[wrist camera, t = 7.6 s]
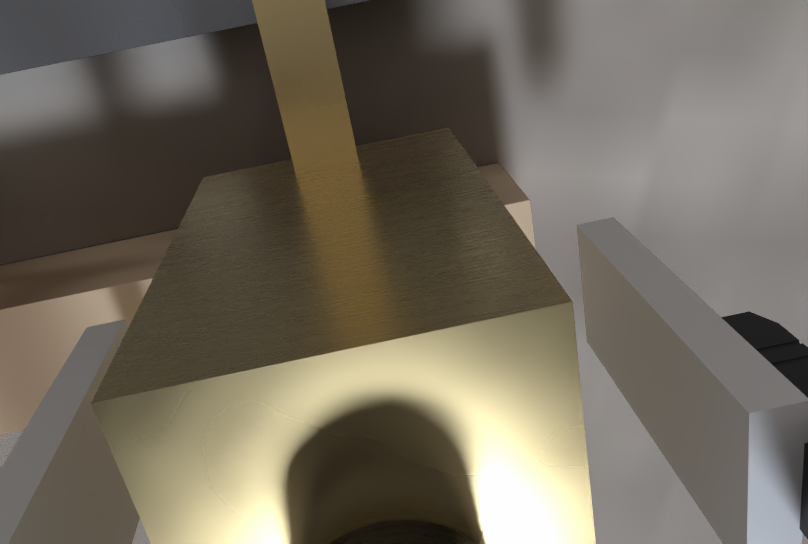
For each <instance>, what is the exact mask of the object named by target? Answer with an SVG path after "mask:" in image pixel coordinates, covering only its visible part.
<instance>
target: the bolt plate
mask: <svg viewBox="0 0 808 544" xmlns="http://www.w3.org/2000/svg"><path fill="white" fill-rule="evenodd" d="M365 1H369V0H325V2H326V7H327V9H330V8H335V7H340V6H345V5H350V4H355V3H360V2H365ZM255 23H258V22H257V18H256V14H255V10H254V6H253V2H252V0H0V75H1V74H6V73H11V72H16V71H21V70H26V69H31V68H36V67H41V66H46V65H51V64H55V63H60V62H65V61H70V60H75V59H80V58H85V57H90V56H95V55H100V54H105V53H110V52H115V51H120V50H125V49H130V48H135V47H140V46H145V45H150V44H155V43H160V42H165V41H170V40H175V39H180V38H185V37H190V36H195V35H200V34H205V33H210V32H215V31H220V30H225V29H230V28H235V27H240V26H245V25H250V24H255Z"/></svg>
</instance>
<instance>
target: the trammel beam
mask: <svg viewBox="0 0 808 544" xmlns="http://www.w3.org/2000/svg"><path fill="white" fill-rule="evenodd" d="M478 169H479V170H480V172H481V173H482V174H483V176H484V177H485V179H486V180H487V182H488V183H489V184H490V186H491V187H492V189H493V190H494V191H495V193H496V194H497V196H498V197H499V199H500V200H501V201H502V203H503V204H504V206H505V207H506V208H507V210H508V211H509V213H510V214H511V215H512V217H513V218H514V220H515V221H516V223H517V224H518V225H519V227H520V228H521V230H522V231H523V232H524V234H525V235H526V237H527V238H528V239H529V241H530V242H531V244H532V245H533V247H534V248H535V242H534V233H533V225H532V216H531V207H530V200H529V199H528V197H527V196H526V195H525V194H524V192H523V191H522V190H521V189H520V188H519V186H518V185H517V184H516V183H515V182H514V180H513V179H512V178H511V177H510V175H509V174H508V173H507V172H506V171H505V169H504V168H503V167H502V166H501V165H500V163H495V164H491V165H486V166H481V167H478ZM176 231H177V229H175V230H170V231H166V232H161V233H156V234H151V235H146V236H141V237H137V238H132V239H127V240H122V241H117V242H112V243H107V244H103V245H98V246H93V247H88V248H83V249H78V250H73V251H69V252H64V253H59V254H54V255H49V256H44V257H39V258H35V259H30V260H25V261H20V262H15V263H10V264H6V265H1V266H0V435H3V434H7V433H12V432H17V431H22V430H25V428H26V426H27V425H28V423H29V421H30V420H31V418H32V416H33V415H34V413H35V411H36V410H37V408H38V407H39V405H40V403H41V402H42V400H43V398H44V397H45V395H46V393H47V392H48V390H49V388H50V387H51V385H52V383H53V382H54V380H55V379H56V377H57V375H58V374H59V372H60V370H61V369H62V367H63V365H64V364H65V362H66V360H67V359H68V357H69V356H70V354H71V352H72V351H73V349H74V347H75V346H76V344H77V342H78V341H79V339H80V337H81V336H82V334H83V332H84V331H85V329H86V328H87V327H90V326H95V325H100V324H105V323H109V322H114V321H119V320H124V319H125V322H126V325H127V327H128V328H129V325H130V323H131V321H132V319H133V317H134V315H135V313H136V311H137V309H138V307H139V305H140V303H141V301H142V299H143V297H144V295H145V293H146V291H147V289H148V287H149V285H150V283H151V281H152V279H153V277H154V275H155V273H156V271H157V269H158V267H159V265H160V263H161V261H162V259H163V257H164V255H165V253H166V251H167V249H168V247H169V245H170V243H171V241H172V239H173V237H174V235H175V233H176Z"/></svg>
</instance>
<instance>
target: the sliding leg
mask: <svg viewBox="0 0 808 544" xmlns="http://www.w3.org/2000/svg"><path fill="white" fill-rule="evenodd" d="M252 2H253V6H254V10H255V14H256V18H257V22H258V26H259V30H260V34H261V38H262V42H263V46H264V50H265V54H266V58H267V62H268V66H269V70H270V74H271V78H272V82H273V86H274V90H275V94H276V98H277V102H278V106H279V110H280V114H281V118H282V122H283V126H284V130H285V134H286V138H287V142H288V146H289V150H290V154H291V158H292V159H290V160H285V161H280V162H275V163H270V164H266V165H261V166H256V167H251V168H246V169H241V170H236V171H231V172H227V173H222V174H217V175H212V176H207V177H203V179H202V181H201V183H200V185H199V187H198V189H197V191H196V193H195V195H194V197H193V199H192V201H191V203H190V205H189V207H188V209H187V211H186V213H185V215H184V217H183V219H182V221H181V223H180V225H179V227H178V229H177V231H176V233H175V235H174V237H173V239H172V241H171V243H170V245H169V247H168V249H167V251H166V253H165V255H164V257H163V259H162V261H161V263H160V265H159V267H158V269H157V271H156V273H155V275H154V277H153V279H152V281H151V283H150V285H149V287H148V289H147V291H146V293H145V295H144V297H143V299H142V301H141V303H140V305H139V307H138V309H137V311H136V313H135V315H134V317H133V319H132V321H131V323H130V325H129V328H128V330H127V332H126V334H125V336H124V338H123V340H122V342H121V344H120V346H119V348H118V350H117V352H116V354H115V356H114V358H113V360H112V362H111V364H110V366H109V368H108V370H107V372H106V374H105V376H104V378H103V380H102V382H101V384H100V386H99V388H98V390H97V392H96V394H95V396H94V398H93V400H92V402H91V405H92V407H93V410H94V412H95V414H96V417H97V419H98V421H99V424H100V426H101V428H102V431H103V433H104V435H105V438H106V440H107V442H108V445H109V447H110V449H111V452H112V454H113V456H114V459H115V461H116V463H117V466H118V468H119V470H120V473H121V475H122V477H123V480H124V482H125V484H126V487H127V489H128V491H129V494H130V496H131V498H132V501H133V503H134V505H135V508H136V510H137V512H138V514H139V517H140V519H141V521H142V524H143V526H144V528H145V531H146V533H147V535H148V538H149V540H150V542H151V544H596V542H595V532H594V521H593V511H592V500H591V490H590V479H589V469H588V458H587V448H586V437H585V427H584V416H583V406H582V395H581V385H580V374H579V363H578V353H577V342H576V332H575V321H574V311H573V302H572V300H571V299H570V297H569V296H568V295H567V293H566V292H565V290H564V289H563V287H562V286H561V285H560V283H559V282H558V280H557V279H556V278H555V276H554V275H553V273H552V272H551V271H550V269H549V268H548V266H547V265H546V263H545V262H544V261H543V259H542V258H541V256H540V255H539V254H538V252H537V251H536V249H535V248H534V247H533V245H532V244H531V242H530V241H529V239H528V238H527V237H526V235H525V234H524V232H523V231H522V230H521V228H520V227H519V225H518V224H517V223H516V221H515V220H514V218H513V217H512V215H511V214H510V213H509V211H508V210H507V208H506V207H505V206H504V204H503V203H502V201H501V200H500V199H499V197H498V196H497V194H496V193H495V191H494V190H493V189H492V187H491V186H490V184H489V183H488V182H487V180H486V179H485V177H484V176H483V174H482V173H481V172H480V170H479V169H478V167H477V166H476V165H475V163H474V162H473V160H472V159H471V158H470V156H469V155H468V153H467V152H466V150H465V149H464V148H463V146H462V145H461V143H460V142H459V141H458V139H457V138H456V136H455V135H454V134H453V132H452V131H451V129H450V128H449V127H446V128H441V129H436V130H432V131H427V132H422V133H417V134H412V135H407V136H402V137H397V138H393V139H388V140H383V141H378V142H373V143H368V144H363V145H358V146H356V144H355V139H354V134H353V130H352V125H351V120H350V116H349V111H348V106H347V101H346V97H345V92H344V87H343V83H342V78H341V73H340V68H339V64H338V59H337V54H336V50H335V45H334V40H333V35H332V31H331V26H330V21H329V17H328V12H327V7H326V2H325V0H252Z"/></svg>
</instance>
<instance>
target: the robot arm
mask: <svg viewBox="0 0 808 544" xmlns="http://www.w3.org/2000/svg"><path fill="white" fill-rule="evenodd" d="M577 233H578V245H579V256H580V267H581V279H582V290H583V301H584V313H585V324H586V335H587V342H588V343H589V345H590V346H591V348H592V349H593V351H594V352H595V354H596V355H597V357H598V358H599V360H600V361H601V363H602V364H603V366H604V367H605V369H606V370H607V372H608V373H609V375H610V376H611V378H612V379H613V381H614V382H615V384H616V385H617V387H618V388H619V390H620V391H621V392H622V394H623V395H624V397H625V398H626V400H627V401H628V403H629V404H630V406H631V407H632V409H633V410H634V412H635V413H636V415H637V416H638V418H639V419H640V421H641V422H642V424H643V425H644V427H645V428H646V430H647V431H648V433H649V434H650V436H651V437H652V438H653V440H654V441H655V443H656V444H657V446H658V447H659V449H660V450H661V452H662V453H663V455H664V456H665V458H666V459H667V461H668V462H669V464H670V465H671V467H672V468H673V470H674V471H675V473H676V474H677V476H678V477H679V479H680V480H681V482H682V483H683V484H684V486H685V487H686V489H687V490H688V492H689V493H690V495H691V496H692V498H693V499H694V501H695V502H696V504H697V505H698V507H699V508H700V510H701V511H702V513H703V514H704V516H705V517H706V519H707V520H708V522H709V523H710V525H711V526H712V528H713V529H714V530H715V532H716V533H717V535H718V536H719V538H720V539H721V541H722V542H723V544H802V533H803V534H804V535H805V536H806V537H807V539H808V347H807V346H805V345H804V344H803V343H802V344H800V343H799V340H798V339H797V338H796V337H794V336H793V335H792V334H791V333H790V332H788V331H787V330H786V329H785V328H784V327H782V326H781V325H780V324H779V323H776V322H774V321H771V320H769V319H766V318H764V317H761V316H759V315H756V314H754V313H751V312H745V313H740V314H736V315H731V316H726V317H720V316H719V315H718V314H717V313H716V312H715V311H714V310H713V309H712V308H711V307H709V306H708V305H707V304H706V303H705V302H704V301H703V300H702V299H701V298H700V297H699V296H698V295H697V294H695V293H694V292H693V291H692V290H691V289H690V288H689V287H688V286H687V285H686V284H685V283H684V282H683V281H681V280H680V279H679V278H678V277H677V276H676V275H675V274H674V273H673V272H672V271H671V270H670V269H669V268H667V267H666V266H665V265H664V264H663V263H662V262H661V261H660V260H659V259H658V258H657V257H656V256H655V255H653V254H652V253H651V252H650V251H649V250H648V249H647V248H646V247H645V246H644V245H643V244H642V243H641V242H639V241H638V240H637V239H636V238H635V237H634V236H633V235H632V234H631V233H630V232H629V231H628V230H627V229H625V228H624V227H623V226H622V225H621V224H620V223H619V222H618V221H617V220H616V219H615V218H614V217H613V218H608V219H604V220H599V221H594V222H589V223H584V224H580V225H577ZM127 330H128V327H127V325H126V322H125V319H124V320H119V321H114V322H109V323H105V324H100V325H95V326H90V327H87V328H86V329H85V331H84V332H83V334H82V336H81V337H80V339H79V341H78V342H77V344H76V346H75V347H74V349H73V351H72V352H71V354H70V356H69V357H68V359H67V360H66V362H65V364H64V365H63V367H62V369H61V370H60V372H59V374H58V375H57V377H56V379H55V380H54V382H53V383H52V385H51V387H50V388H49V390H48V392H47V393H46V395H45V397H44V398H43V400H42V402H41V403H40V405H39V407H38V408H37V410H36V411H35V413H34V415H33V416H32V418H31V420H30V421H29V423H28V425H27V426H26V428H25V430H24V431H23V433H22V434H21V436H20V438H19V439H18V441H17V443H16V444H15V446H14V448H13V449H12V451H11V453H10V454H9V456H8V458H7V459H6V461H5V462H4V464H3V466H2V467H1V469H0V544H132V541H133V538H134V535H135V531H136V528H137V525H138V522H139V519H140V517H139V514H138V512H137V510H136V508H135V505H134V503H133V501H132V498H131V496H130V494H129V491H128V489H127V487H126V484H125V482H124V480H123V477H122V475H121V473H120V470H119V468H118V466H117V463H116V461H115V459H114V456H113V454H112V452H111V449H110V447H109V445H108V442H107V440H106V438H105V435H104V433H103V431H102V428H101V426H100V424H99V421H98V419H97V417H96V414H95V412H94V410H93V407H92V405H91V402H92V400H93V398H94V396H95V394H96V392H97V390H98V388H99V386H100V384H101V382H102V380H103V378H104V376H105V374H106V372H107V370H108V368H109V366H110V364H111V362H112V360H113V358H114V356H115V354H116V352H117V350H118V348H119V346H120V344H121V342H122V340H123V338H124V336H125V334H126V332H127Z"/></svg>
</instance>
